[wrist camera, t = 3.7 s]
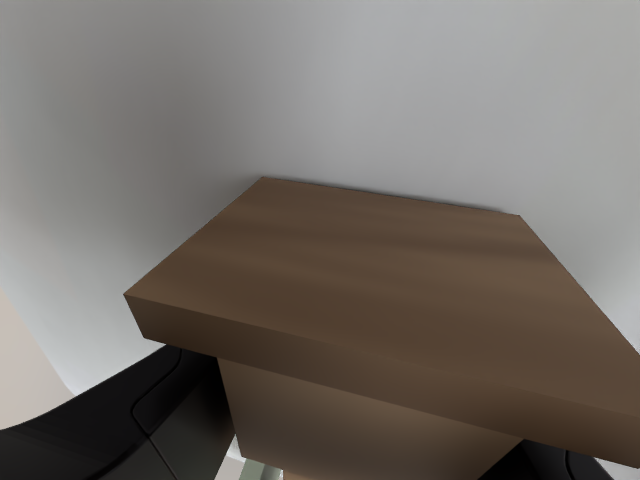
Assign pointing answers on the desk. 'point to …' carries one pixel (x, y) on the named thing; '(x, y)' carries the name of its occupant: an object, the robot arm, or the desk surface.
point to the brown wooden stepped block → (392, 336)
